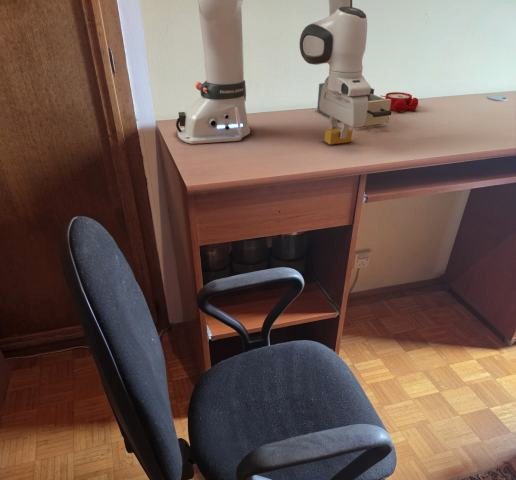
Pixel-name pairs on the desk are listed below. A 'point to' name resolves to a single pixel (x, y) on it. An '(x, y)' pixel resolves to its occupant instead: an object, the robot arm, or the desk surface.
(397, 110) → the alarm clock
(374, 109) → the drawer
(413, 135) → the desk surface
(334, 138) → the yellow rectangular block
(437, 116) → the desk surface
